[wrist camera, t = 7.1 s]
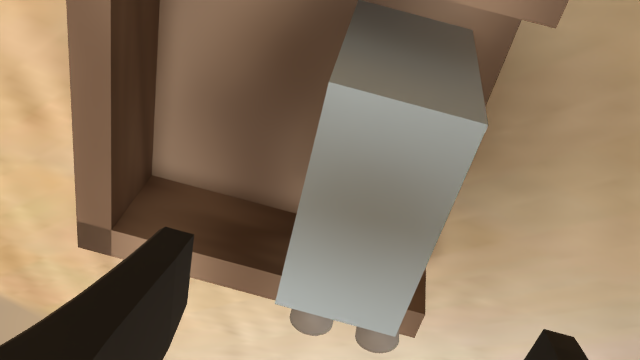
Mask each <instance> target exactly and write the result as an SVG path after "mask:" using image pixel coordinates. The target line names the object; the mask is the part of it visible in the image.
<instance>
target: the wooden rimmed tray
mask: <svg viewBox="0 0 640 360" xmlns="http://www.w3.org/2000/svg"><path fill="white" fill-rule="evenodd" d="M362 1H366V2H370V3H373V4H377V5H381V6H385V7H388V8H392V9H396V10H400V11H403V12H407V13H411V14H415V15H418V16H422V17H426V18H430V19H433V20H437V21H441V22H445V23H448V24H452V25H456V26H459V27H463V28H467V29H471V30H473V36H474V42H475V48H476V54H477V60H478V66H479V72H480V78H481V84H482V90H483V96H484V102H485V106H486V104H487V101H488V99H489V97H490V94H491V92H492V89H493V87H494V85H495V82H496V80H497V77H498V75H499V73H500V70H501V68H502V65H503V63H504V61H505V58H506V56H507V54H508V51H509V49H510V46H511V44H512V42H513V39H514V37H515V34H516V32H517V30H518V27H519V25H520V22H521V20H525V21H529V22H533V23H537V24H541V25H544V26H548V27H552V28H556V27H557V25H558V22H559V20H560V18H561V16H562V14H563V11H564V9H565V7H566V5H567V3H568V1H569V0H362ZM357 2H358V0H66V4H67V25H68V47H69V68H70V89H71V110H72V131H73V152H74V173H75V194H76V215H77V236H78V247H79V248H83V249H87V250H91V251H94V252H98V253H102V254H105V255H109V256H113V257H117V258H120V259H125V258H127V257H128V256H129V255H130V254H132V253H133V252H134V251H135V250H136V249H138V248H139V247H140V246H141V245H142V244H143V243H145V242H146V241H147V240H148V239H149V238H150V237H152V236H153V235H154V234H155V233H156V232H157V231H158V230H159V229H161V228H163V227H169V228H172V229H176V230H180V231H184V232H187V233H191V234H194V242H193V251H192V261H191V270H190V277H191V278H194V279H198V280H202V281H206V282H209V283H213V284H217V285H220V286H224V287H228V288H232V289H235V290H239V291H243V292H246V293H250V294H254V295H257V296H261V297H265V298H269V299H272V300H276V297H277V293H278V289H279V284H280V280H281V276H282V272H283V268H284V264H285V260H286V256H287V252H288V247H289V243H290V239H291V235H292V231H293V227H294V223H295V219H296V215H297V211H298V206H299V202H300V198H301V194H302V190H303V186H304V182H305V178H306V174H307V169H308V165H309V161H310V157H311V153H312V149H313V145H314V141H315V137H316V133H317V128H318V124H319V120H320V116H321V112H322V108H323V104H324V100H325V96H326V92H327V87H328V83H329V80H330V77H331V75H332V72H333V69H334V66H335V63H336V61H337V58H338V55H339V52H340V50H341V47H342V44H343V41H344V39H345V36H346V33H347V30H348V27H349V25H350V22H351V19H352V16H353V14H354V11H355V8H356V5H357ZM425 287H426V268H425V270H424V272H423V275H422V277H421V279H420V281H419V284H418V286H417V288H416V291H415V293H414V295H413V297H412V300H411V302H410V304H409V307H408V309H407V311H406V313H405V316H404V318H403V320H402V322H401V325H400V327H399V329H398V332H397V334H396V336H395V337H394V336H390V335H386V334H383V333H379V332H375V331H372V330H368V329H364V328H361V327H357V328H356V335H355V337H356V341H357V343H358V344H359V345H360V346H361V347H362V348H364V349H365V350H367V351H370V352H374V353H386V352H389V351H391V350H393V349H395V348H396V346H397V345H398V343H399V334H402V335H406V336H410V337H413V338H415V335H416V333H417V331H418V329H419V327H420V324H421V322H422V320H423V318H424V316H425ZM290 321H291V323H292V325H293V326H294V327H295V328H296V329H297V330H298V331H300V332H302V333H304V334H307V335H312V336H318V335H323V334H325V333H327V332H328V331H329V330H330V329H331V327H332V324H333V320H332V319H328V318H324V317H321V316H317V315H314V314H310V313H306V312H303V311H299V310H295V309H292V310H291V314H290Z"/></svg>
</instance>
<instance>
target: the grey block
mask: <svg viewBox="0 0 640 360" xmlns="http://www.w3.org/2000/svg"><path fill="white" fill-rule="evenodd" d="M487 127H488V120H487V114H486V108H485V102H484V96H483V90H482V84H481V78H480V72H479V66H478V60H477V54H476V48H475V42H474V36H473V30H471V29H467V28H463V27H459V26H456V25H452V24H448V23H445V22H441V21H437V20H433V19H430V18H426V17H422V16H418V15H415V14H411V13H407V12H403V11H400V10H396V9H392V8H388V7H385V6H381V5H377V4H373V3H370V2H366V1H362V0H358V2H357V5H356V8H355V11H354V14H353V16H352V19H351V22H350V25H349V27H348V30H347V33H346V36H345V39H344V41H343V44H342V47H341V50H340V52H339V55H338V58H337V61H336V63H335V66H334V69H333V72H332V75H331V77H330V80H329V83H328V87H327V92H326V96H325V100H324V104H323V108H322V112H321V116H320V120H319V124H318V128H317V133H316V137H315V141H314V145H313V149H312V153H311V157H310V161H309V165H308V169H307V174H306V178H305V182H304V186H303V190H302V194H301V198H300V202H299V206H298V211H297V215H296V219H295V223H294V227H293V231H292V235H291V239H290V243H289V247H288V252H287V256H286V260H285V264H284V268H283V272H282V276H281V280H280V284H279V289H278V293H277V297H276V301H275V304H277V305H281V306H284V307H288V308H292V309H295V310H299V311H303V312H306V313H310V314H314V315H317V316H321V317H324V318H328V319H332V320H335V321H339V322H343V323H346V324H350V325H354V326H357V327H361V328H364V329H368V330H372V331H375V332H379V333H383V334H386V335H390V336H394V337H395V336H396V334H397V332H398V329H399V327H400V325H401V322H402V320H403V318H404V316H405V313H406V311H407V309H408V307H409V304H410V302H411V300H412V297H413V295H414V293H415V291H416V288H417V286H418V284H419V281H420V279H421V277H422V275H423V272H424V270H425V268H426V266H427V263H428V261H429V259H430V256H431V254H432V252H433V250H434V247H435V245H436V243H437V240H438V238H439V236H440V234H441V231H442V229H443V227H444V225H445V222H446V220H447V218H448V215H449V213H450V211H451V209H452V206H453V204H454V202H455V200H456V197H457V195H458V193H459V190H460V188H461V186H462V184H463V181H464V179H465V177H466V174H467V172H468V170H469V168H470V165H471V163H472V161H473V159H474V156H475V154H476V152H477V149H478V147H479V145H480V143H481V140H482V138H483V136H484V134H485V132H486V130H487Z"/></svg>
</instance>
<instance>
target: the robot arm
mask: <svg viewBox="0 0 640 360" xmlns="http://www.w3.org/2000/svg"><path fill="white" fill-rule="evenodd" d="M193 242H194V234H191V233H187V232H184V231H180V230H176V229H172V228H169V227H163V228H161V229H159V230H158V231H157V232H156V233H155V234H154V235H153V236H152V237H150V238H149V239H148V240H147V241H146V242H145V243H143V244H142V245H141V246H140V247H139V248H138V249H136V250H135V251H134V252H133V253H132V254H130V255H129V256H128V257H127V258H125V259H124V260H123V261H122V262H121V263H119V264H118V265H117V266H116V267H114V268H113V269H112V270H111V271H109V272H108V273H107V274H105V275H104V276H103V277H101V278H100V279H99V280H97V281H96V282H95V283H93V284H92V285H91V286H90V287H88V288H87V289H86V290H84V291H83V292H82V293H80V294H79V295H77V296H76V297H75V298H73V299H72V300H70V301H69V302H67V303H66V304H64V305H63V306H61V307H60V308H59V309H57V310H56V311H54V312H53V313H51V314H50V315H48V316H47V317H45V318H44V319H43V320H41V321H40V322H38V323H36V324H35V325H33V326H32V327H30V328H28V329H27V330H25V331H24V332H22V333H20V334H19V335H17V336H16V337H14V338H12V339H11V340H9V341H7V342H5V343H4V344H2V345H0V360H163V358H164V356H165V354H166V352H167V351H168V349H169V346H170V344H171V342H172V339H173V337H174V335H175V332H176V330H177V327H178V325H179V322H180V320H181V317H182V315H183V312H184V310H185V307H186V305H187V299H188V289H189V280H190V270H191V261H192V251H193ZM524 360H588V358H587V357H586V355H585V353H584V352H583V350H582V349H581V347H580V346H579V344H578V343H577V341H576V340H575V338H574V337H571V336H568V335H564V334H560V333H557V332H553V331H549V330H545V329H544V330H543V331H542V333H541V334H540V336H539V337H538V339H537V340H536V342H535V344H534V345H533V347H532V348H531V350H530V351H529V353H528V354H527V356H526V358H525V359H524Z"/></svg>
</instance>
